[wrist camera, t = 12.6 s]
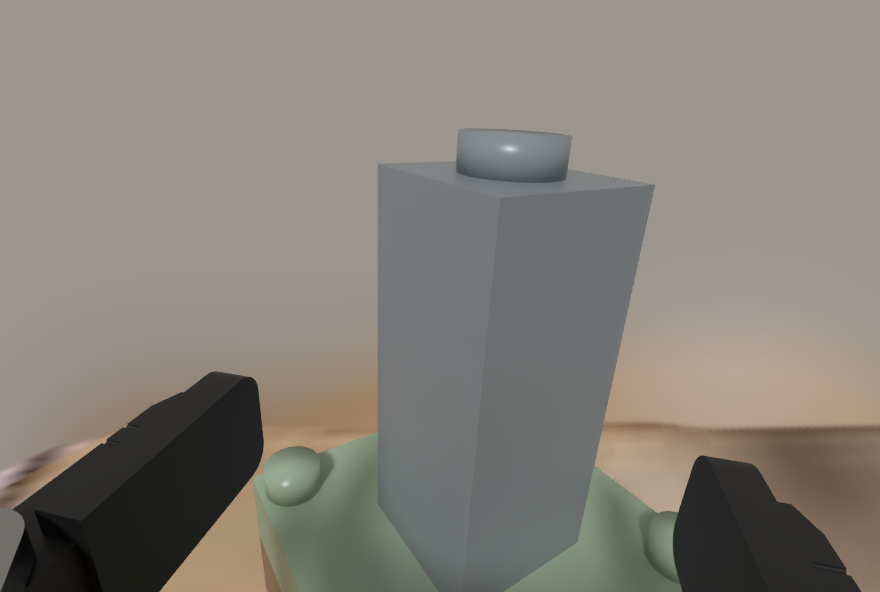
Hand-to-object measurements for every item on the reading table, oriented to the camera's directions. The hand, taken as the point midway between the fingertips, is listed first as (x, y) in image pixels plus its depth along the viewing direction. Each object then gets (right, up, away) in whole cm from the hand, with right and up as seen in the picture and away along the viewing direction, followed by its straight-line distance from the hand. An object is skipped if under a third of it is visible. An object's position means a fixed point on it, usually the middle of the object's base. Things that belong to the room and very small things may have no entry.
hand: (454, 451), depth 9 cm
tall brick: (+1, -5, +8) cm, 10 cm away
